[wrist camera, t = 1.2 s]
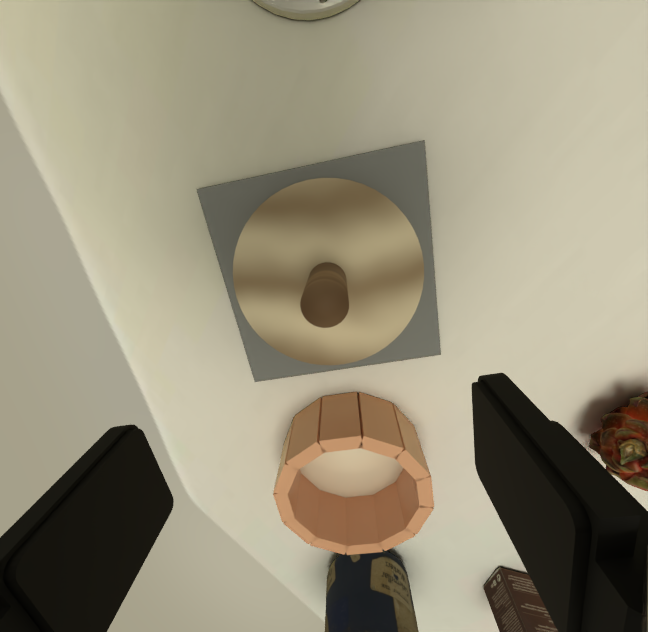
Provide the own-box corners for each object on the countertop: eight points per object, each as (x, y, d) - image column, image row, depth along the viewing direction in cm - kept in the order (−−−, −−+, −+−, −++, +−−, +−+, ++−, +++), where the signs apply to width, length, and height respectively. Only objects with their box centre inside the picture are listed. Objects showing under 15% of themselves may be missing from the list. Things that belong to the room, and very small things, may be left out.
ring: (272, 403, 31) (258, 448, 26) (409, 384, 30) (426, 427, 24) (301, 502, 36) (294, 559, 30) (421, 489, 34) (438, 547, 29)
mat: (199, 189, 25) (196, 189, 24) (422, 141, 23) (424, 140, 23) (256, 379, 30) (254, 381, 30) (439, 352, 29) (440, 354, 28)
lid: (212, 200, 25) (167, 202, 18) (411, 158, 23) (440, 143, 16) (262, 371, 30) (241, 420, 23) (428, 345, 28) (456, 391, 22)
